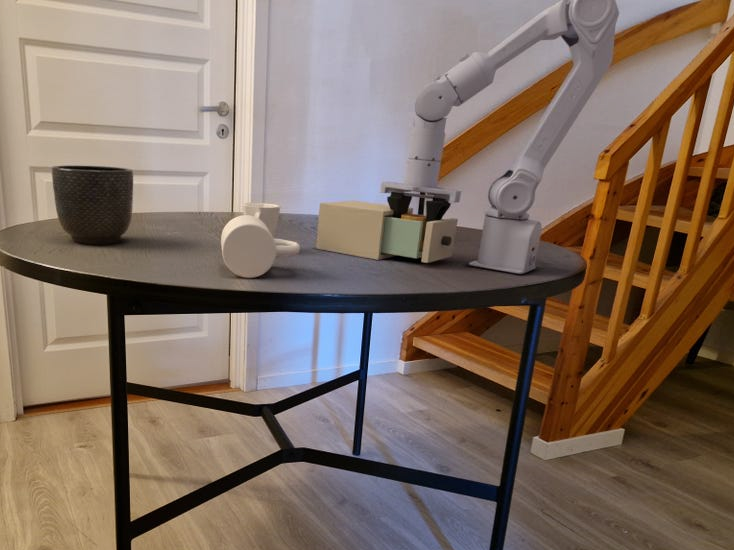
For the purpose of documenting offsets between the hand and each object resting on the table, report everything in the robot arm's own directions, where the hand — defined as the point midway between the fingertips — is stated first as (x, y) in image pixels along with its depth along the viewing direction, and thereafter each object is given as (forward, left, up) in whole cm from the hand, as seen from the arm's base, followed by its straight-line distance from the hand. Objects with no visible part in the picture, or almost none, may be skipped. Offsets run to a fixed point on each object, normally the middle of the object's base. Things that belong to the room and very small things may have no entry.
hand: (411, 238), depth 112 cm
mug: (+10, +31, -4) cm, 33 cm away
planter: (+46, +35, -4) cm, 58 cm away
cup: (+22, +17, -4) cm, 28 cm away
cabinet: (+10, 0, -4) cm, 11 cm away
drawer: (0, 0, -3) cm, 3 cm away
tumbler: (0, 0, -1) cm, 1 cm away
